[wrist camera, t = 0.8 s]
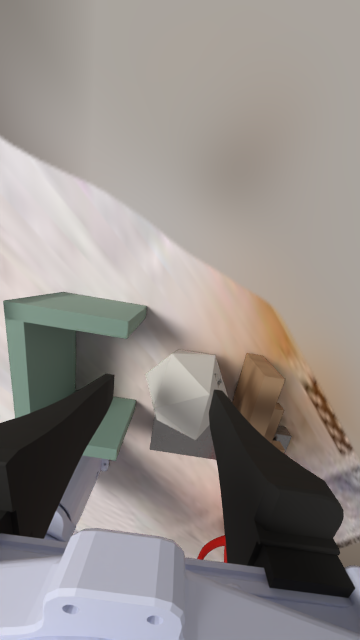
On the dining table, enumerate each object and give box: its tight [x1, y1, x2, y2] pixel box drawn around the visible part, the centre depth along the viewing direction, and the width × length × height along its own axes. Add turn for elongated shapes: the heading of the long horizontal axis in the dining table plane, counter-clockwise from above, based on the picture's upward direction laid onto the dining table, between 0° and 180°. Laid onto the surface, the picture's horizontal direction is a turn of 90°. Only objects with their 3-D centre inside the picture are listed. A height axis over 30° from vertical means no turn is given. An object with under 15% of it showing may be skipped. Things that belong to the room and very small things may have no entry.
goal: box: [3, 292, 147, 461], centre depth 19 cm, size 15×10×7 cm, turn 171°
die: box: [145, 350, 228, 440], centre depth 19 cm, size 8×9×10 cm
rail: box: [150, 415, 292, 460], centre depth 24 cm, size 6×18×2 cm, turn 81°
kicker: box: [232, 353, 285, 453], centre depth 19 cm, size 16×7×9 cm, turn 171°
